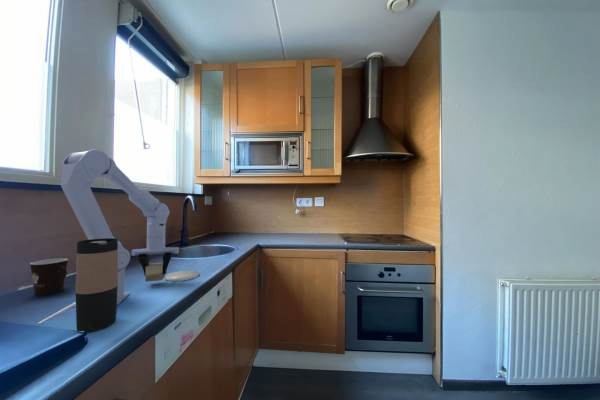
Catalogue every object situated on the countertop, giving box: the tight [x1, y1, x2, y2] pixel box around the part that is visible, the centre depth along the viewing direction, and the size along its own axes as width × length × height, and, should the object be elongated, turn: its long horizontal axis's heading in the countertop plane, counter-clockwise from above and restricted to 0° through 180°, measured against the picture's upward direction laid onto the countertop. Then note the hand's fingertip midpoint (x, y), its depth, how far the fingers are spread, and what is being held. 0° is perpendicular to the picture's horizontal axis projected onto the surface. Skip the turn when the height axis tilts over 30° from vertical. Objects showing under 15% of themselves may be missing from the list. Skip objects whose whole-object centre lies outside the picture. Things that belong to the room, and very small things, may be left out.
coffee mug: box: [29, 257, 69, 297], centre depth 78 cm, size 12×9×10 cm
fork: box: [38, 301, 76, 324], centre depth 68 cm, size 3×20×2 cm, turn 6°
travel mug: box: [75, 237, 119, 334], centre depth 57 cm, size 8×8×20 cm
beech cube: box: [144, 262, 166, 282], centre depth 86 cm, size 5×5×5 cm
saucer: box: [164, 269, 200, 282], centre depth 95 cm, size 12×12×1 cm
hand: (155, 274), depth 86 cm, fingers closed on beech cube, 5 cm apart
